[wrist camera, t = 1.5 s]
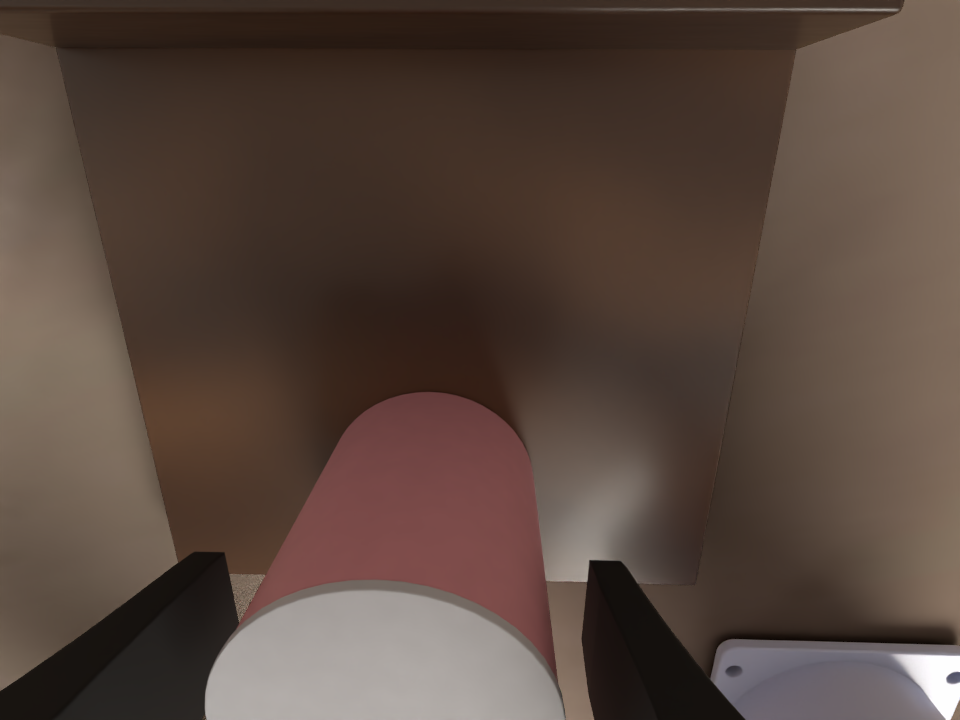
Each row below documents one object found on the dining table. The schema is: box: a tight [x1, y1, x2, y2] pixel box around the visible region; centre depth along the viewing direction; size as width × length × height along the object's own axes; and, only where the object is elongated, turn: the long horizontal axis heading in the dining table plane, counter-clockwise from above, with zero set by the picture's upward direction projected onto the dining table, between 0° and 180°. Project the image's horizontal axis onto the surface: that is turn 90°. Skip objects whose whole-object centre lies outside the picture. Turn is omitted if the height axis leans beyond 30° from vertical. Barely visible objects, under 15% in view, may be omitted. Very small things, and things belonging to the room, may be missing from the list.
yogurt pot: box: [205, 392, 566, 720], centre depth 11 cm, size 6×6×7 cm
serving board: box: [0, 0, 904, 585], centre depth 12 cm, size 15×15×4 cm
